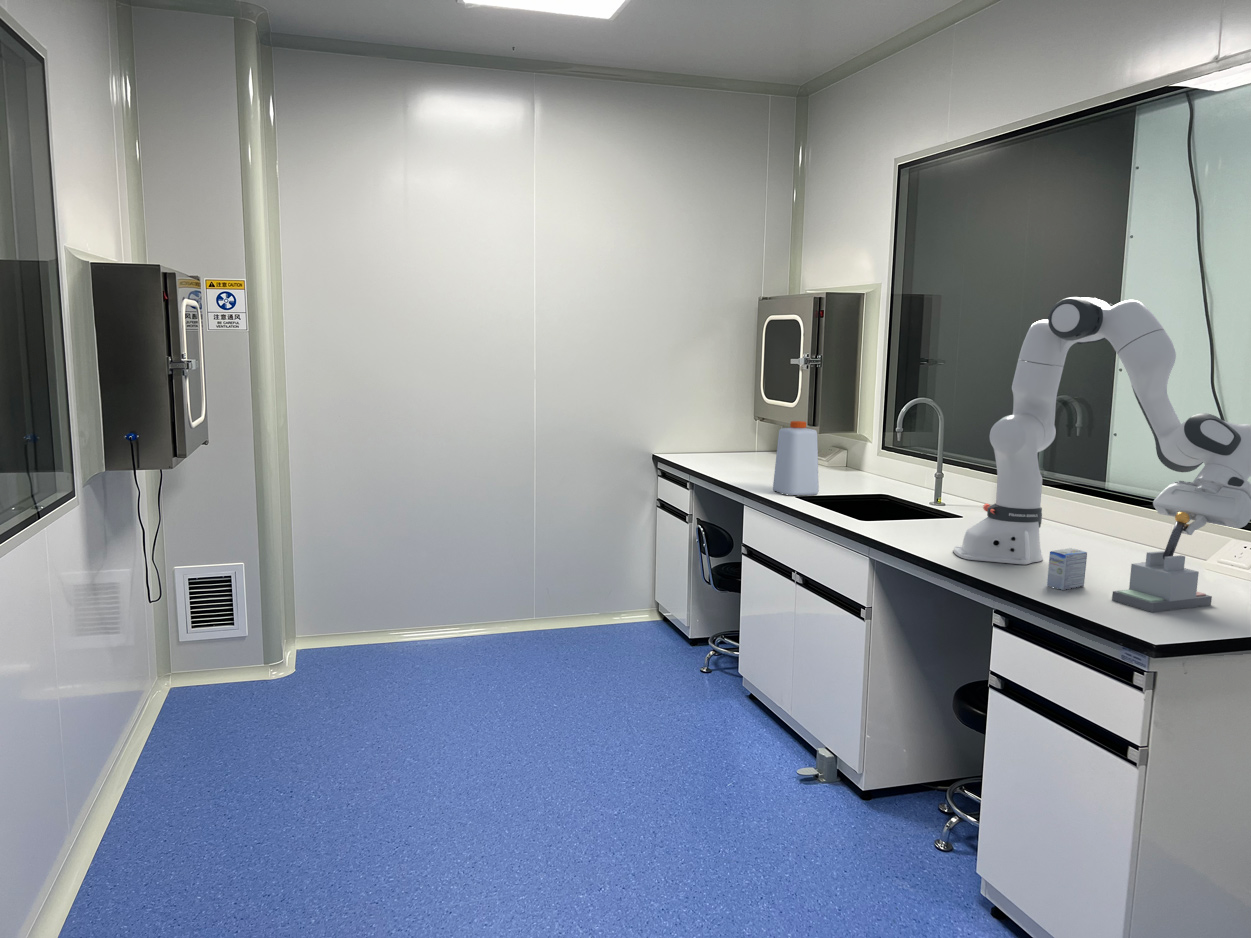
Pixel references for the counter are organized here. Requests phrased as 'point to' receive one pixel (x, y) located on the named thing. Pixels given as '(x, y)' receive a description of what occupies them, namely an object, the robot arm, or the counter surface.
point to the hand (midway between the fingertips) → (1182, 532)
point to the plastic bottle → (797, 461)
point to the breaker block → (1162, 585)
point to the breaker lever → (1176, 533)
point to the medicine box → (1067, 568)
